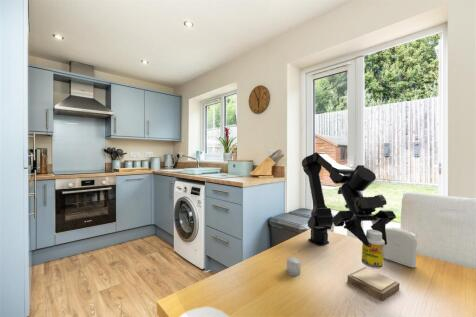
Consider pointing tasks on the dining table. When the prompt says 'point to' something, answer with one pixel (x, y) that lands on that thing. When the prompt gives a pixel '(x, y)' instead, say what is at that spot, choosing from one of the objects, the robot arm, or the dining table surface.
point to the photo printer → (400, 246)
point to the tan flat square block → (373, 283)
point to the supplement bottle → (373, 250)
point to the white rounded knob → (293, 266)
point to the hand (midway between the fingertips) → (376, 245)
